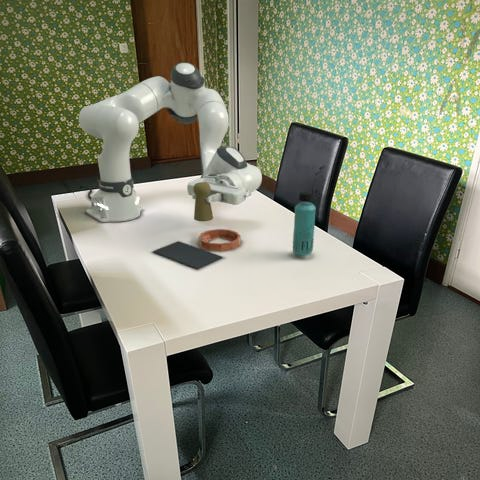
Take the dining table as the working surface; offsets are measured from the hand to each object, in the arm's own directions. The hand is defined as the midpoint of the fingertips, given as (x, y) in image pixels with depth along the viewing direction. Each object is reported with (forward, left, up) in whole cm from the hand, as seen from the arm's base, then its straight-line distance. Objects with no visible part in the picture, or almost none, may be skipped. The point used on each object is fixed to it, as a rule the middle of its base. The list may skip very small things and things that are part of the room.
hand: (200, 198), depth 142 cm
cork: (0, +1, -7) cm, 7 cm away
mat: (-1, -6, -17) cm, 18 cm away
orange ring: (0, +8, -17) cm, 18 cm away
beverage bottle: (+27, +17, -17) cm, 36 cm away
